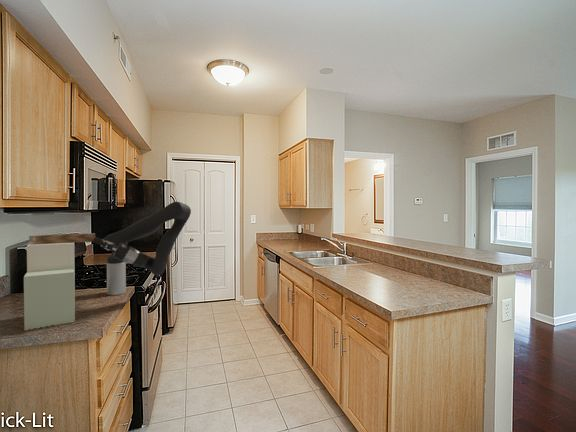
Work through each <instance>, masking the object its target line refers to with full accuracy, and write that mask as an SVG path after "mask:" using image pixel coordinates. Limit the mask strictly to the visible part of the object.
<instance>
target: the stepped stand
mask: <svg viewBox="0 0 576 432" xmlns="http://www.w3.org/2000/svg"><path fill="white" fill-rule="evenodd" d="M75 257H76V256H75V243H55V244H34V245H29V243H28V244H27V245H26V273H25V274H24V276H23V311H24V312H23V315H24V317H23V322H24V326H23V327H24V331H29V329H30V330H35V329H34V328H36V329H41V328H40V327H42V328H47V327H46V326H48V327H52V326H51V325H54V326H58V325H59V326H60V325H65V324H70V323H74V322H75V323H76V301H75V300H76V290H75V289H76V286H75V285H76V283H75V282H76V281H75V280H76V279H75V278H76V277H75V275H76V273H75V271H76V270H75V268H76V267H75Z"/></svg>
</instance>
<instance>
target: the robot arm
mask: <svg viewBox="0 0 576 432" xmlns="http://www.w3.org/2000/svg"><path fill="white" fill-rule="evenodd" d="M191 213H192V209H191V207H190V206H189V205H187V204H186V203H183V202H182V201H173V202H171V203H169V204H167V205H166V206H165V207H162V208H161V209H160V210H158V211H156V212H154V213H152V214H150V215H148V216H146V217H143V218H142V219H139V220H137V221H136V222H134V223H132V224H131V225H128V226H127V227H125V228H122V229H121V230H118V231H115V232H113V233H110V234H108V235H106V236H105V237H104V238H103V239H102V238H100V237H97V236H95V238H94V239H93V241H92V242H91V243H94V244H97V245H98V246H100V247H101V248H103V249H105V250H107V251H108V252H111V253H110V255H109V256H108V257H107V258H106V294H107V295H110V296H116V295H122V294H125V293H126V292H127V289H126V288H127V283H126V282H127V280H126V279H127V276H126V275H127V273H126V272H127V271H126V270H127V269H126V268H127V266H126V265H127V264H130V265H133V266H135V267H139V268H144V269H146V270H148V271H150V272H151V273H152V274H153V275H154V276H160V275H162V274H163V273H164V272H165V270H166V268H167V265H168V261H169V256H170V254H171V252H172V250H173V247H174V245H175V243H176V241H177V239H178V237H179V235H180V233H181V232H182V230H183V228H184V227H185V225H186V223H187V221H188V220H189V219H190V216H191ZM171 220H174V221H173V224H172V225H171V227H170V228H169V230H167V231H166V233H164V234H163V236H162V237H161V239H160V240H159V243H158V246H157V248H156V251H155V257H153V256H150V255H147V254H146V253H143V252H141V251H139V250H137V249H136V248H134V247H132V246H130V245H129V244H128V243H129V242H132V241H135V240H140V239H143V238H145V237H148V236H149V235H152V234H154V233H155V232H157V231H158V230H159V229H160V227H161V226H162V224H163V225H164V223H166V222H169V221H171Z"/></svg>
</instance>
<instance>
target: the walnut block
mask: <svg viewBox="0 0 576 432" xmlns="http://www.w3.org/2000/svg"><path fill="white" fill-rule="evenodd" d="M95 237H96V233H95V232H94V233H69V234H68V233H65V234H39V235H38V234H35V235H29V238H28V239H29V240H28V241H29V242H28V244H29V245H34V244H55V243H74V244H75V243H76V244H77V243H93V242H92V241H93V239H94V238H95Z"/></svg>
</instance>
